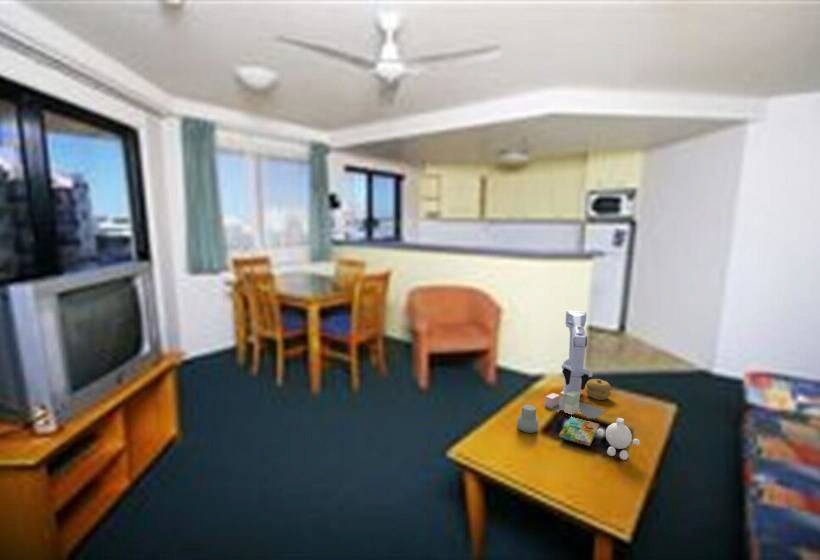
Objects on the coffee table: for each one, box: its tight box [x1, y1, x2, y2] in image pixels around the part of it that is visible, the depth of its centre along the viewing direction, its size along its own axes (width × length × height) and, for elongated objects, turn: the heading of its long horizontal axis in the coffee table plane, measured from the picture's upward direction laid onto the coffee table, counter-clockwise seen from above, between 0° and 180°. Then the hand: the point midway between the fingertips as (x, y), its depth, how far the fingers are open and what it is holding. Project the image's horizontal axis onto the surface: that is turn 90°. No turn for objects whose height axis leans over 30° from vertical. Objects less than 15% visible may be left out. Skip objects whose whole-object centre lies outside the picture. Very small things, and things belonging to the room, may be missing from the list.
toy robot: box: [596, 417, 641, 461], centre depth 165 cm, size 15×10×15 cm, turn 57°
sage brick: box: [565, 390, 581, 406], centre depth 200 cm, size 7×4×5 cm, turn 132°
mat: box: [542, 395, 606, 420], centre depth 205 cm, size 20×22×1 cm
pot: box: [585, 378, 612, 401], centre depth 219 cm, size 12×12×10 cm
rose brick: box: [544, 392, 560, 408], centre depth 208 cm, size 7×4×5 cm, turn 133°
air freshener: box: [516, 404, 539, 434], centre depth 183 cm, size 11×8×10 cm
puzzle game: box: [558, 416, 600, 447], centre depth 179 cm, size 12×5×20 cm
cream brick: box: [564, 402, 579, 415], centre depth 201 cm, size 7×4×5 cm, turn 133°
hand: (575, 386), depth 207 cm, fingers open, 7 cm apart
